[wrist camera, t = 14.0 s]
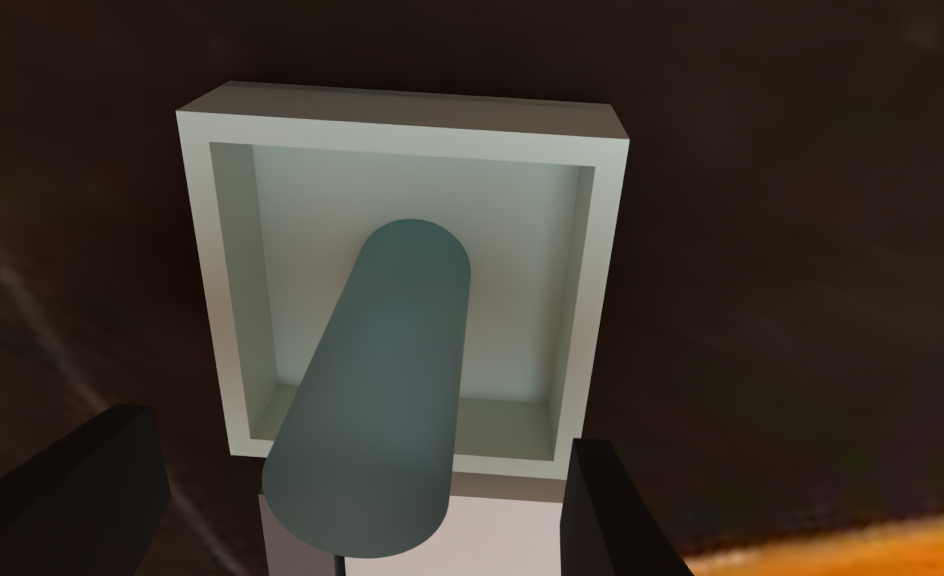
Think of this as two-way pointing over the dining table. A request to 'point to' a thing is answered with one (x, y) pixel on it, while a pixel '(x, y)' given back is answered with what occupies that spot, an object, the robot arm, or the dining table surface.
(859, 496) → the dining table surface
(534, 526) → the pale grey box
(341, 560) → the bench dog
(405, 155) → the tray
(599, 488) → the robot arm
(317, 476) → the dowel
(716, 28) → the dining table surface
